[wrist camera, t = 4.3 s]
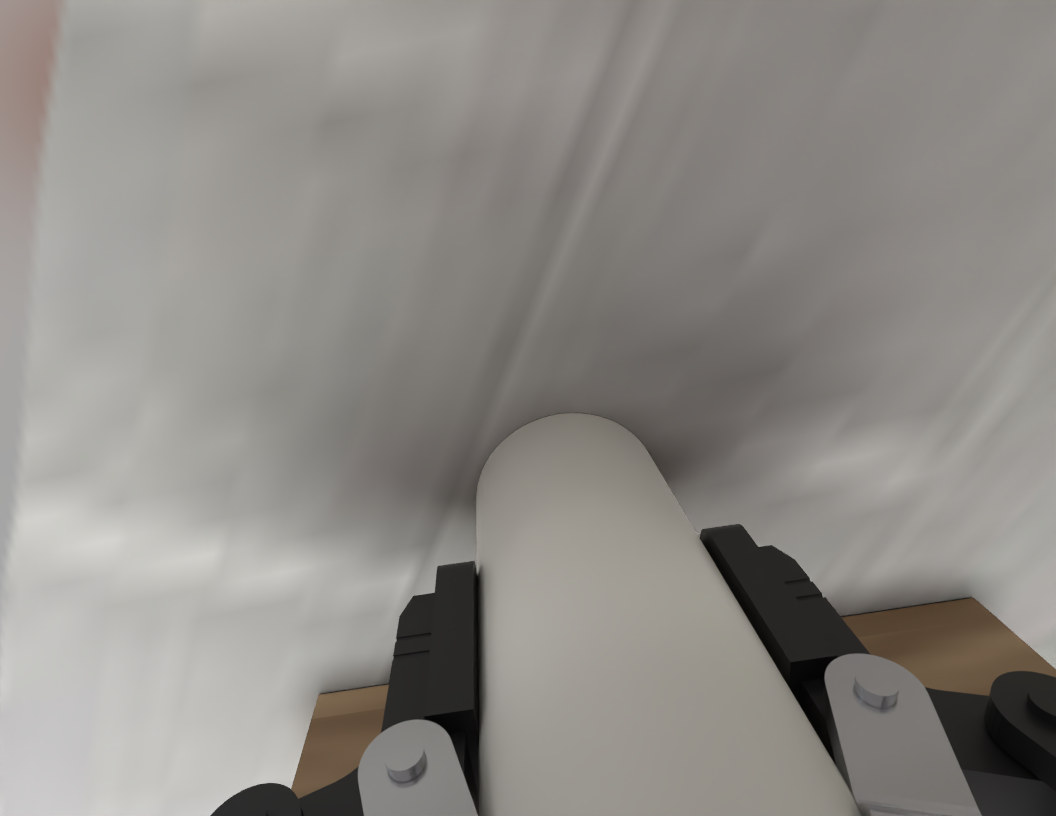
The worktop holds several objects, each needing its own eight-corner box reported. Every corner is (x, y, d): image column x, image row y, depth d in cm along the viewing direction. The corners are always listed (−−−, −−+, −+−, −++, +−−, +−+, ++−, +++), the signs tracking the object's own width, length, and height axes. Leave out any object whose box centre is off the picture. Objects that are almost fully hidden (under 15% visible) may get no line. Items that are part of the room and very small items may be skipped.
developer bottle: (463, 427, 14) (434, 1210, 4) (655, 401, 15) (1167, 1079, 4) (489, 584, 16) (521, 1424, 5) (660, 559, 16) (1018, 1326, 6)
